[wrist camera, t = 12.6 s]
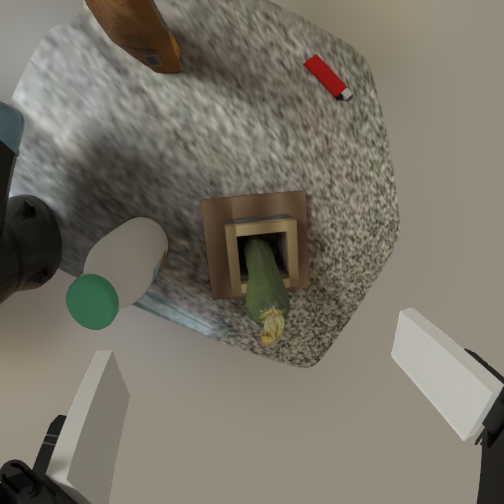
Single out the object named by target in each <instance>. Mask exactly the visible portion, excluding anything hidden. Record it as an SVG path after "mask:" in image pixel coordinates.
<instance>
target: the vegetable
mask: <svg viewBox="0 0 504 504" xmlns="http://www.w3.org/2000/svg"><path fill="white" fill-rule="evenodd" d="M244 255H245V260H246V265H247V268H248V274H249V280H248V284H247V291H246V305H247V309H248V312H249V315H250V317H251V319H252V320H253V321H254V322H256V323H257V324H258V325H260V326H262V327H264V330H265V334H266V336H265V335H264V334H262V333H259V336H261V338H262V341H260V342H262V343H263V344H264V345H265V346H266V347H267V346H269V345H270V344H274V343H275V342H277V341H280V340H281V339H280V337H281V335H282V332H283V330H284V325H285V324H284V320H285V318H286V316H287V315H288V313H289V309H290V306H289V296H288V292H287V290H286V287H285V284H284V282H283V280H282V278H281V276H280V273H279V270H278V268H277V265H276V262H275V258H274V255H273V252H272V250H271V249H270V247H269V245H268V244H267V242H266V241H264V240H262V239H260V238H259V237H257V236H255V235H250V237H249V238H248V241H247V242H246V243H245V247H244Z"/></svg>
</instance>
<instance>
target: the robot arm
mask: <svg viewBox="0 0 504 504" xmlns="http://www.w3.org/2000/svg"><path fill="white" fill-rule="evenodd" d="M24 125H25V121H24V117H23V115H22V113H21V112H20V111H19V110H17V109H15V108H13V107H12V106H9V105H7V104H5V103H3V102H0V304H1V303H3V302H4V301H5V300H6V299H7V298H8V297H10V296H11V295H12V294H13V293H15V292H19V291H25V290H32V289H35V288H38V287H40V286H42V285H43V284H44V283H46V282H47V281H48V280H49V279H51V277H52V276H53V275H54V274H55V272H56V270H57V268H58V266H59V262H60V258H61V238H60V233H59V229H58V226H57V223H56V221H55V219H54V217H53V215H52V213H51V211H50V210H49V209H48V207H47V206H46V205H45V204H44V203H43V202H42V201H40V200H39V199H37V198H36V197H33V196H31V195H18V196H14V197H10V198H8V197H9V191H10V186H11V181H12V176H13V172H14V168H15V163H16V159H17V156H19V146H20V142H21V138H22V134H23V130H24ZM391 357H392V358H393V359H394V360H395V361H396V362H397V364H398V365H399V366H400V367H401V368H402V369H403V370H404V372H405V373H406V374H407V375H408V376H409V377H410V378H411V380H412V381H413V382H414V383H415V384H416V385H417V386H418V388H419V389H420V390H421V391H422V392H423V393H424V394H425V396H426V397H427V398H428V399H429V400H430V402H431V403H432V404H433V405H434V406H435V408H436V409H437V410H438V411H439V412H440V413H441V415H442V416H443V417H444V418H445V419H446V421H447V422H448V423H449V424H450V425H451V427H452V428H453V429H454V430H455V431H456V433H457V434H458V435H459V436H460V438H461V439H462V440H463V441H465V440H466V439H468V438H469V437H471V436H472V435H474V434H475V433H476V432H477V430H478V429H479V427H480V426H481V424H483V425H484V426H485V428H484V429H483V431H482V433H481V434H480V435H479V437H478V438H477V440H476V442H475V445H477V444H478V443H479V441H480V439H481V438H482V442H481V444H480V445H482V460H481V473H480V482H479V491H478V498H477V504H504V377H503V376H501V375H500V374H499V373H498V372H497V371H496V370H494V369H493V368H492V367H491V366H489V365H488V364H487V363H486V362H485V361H483V360H482V358H480V357H479V356H478V355H477V354H476V353H474V352H472V351H470V350H467V349H463V348H461V347H460V346H459V345H458V344H457V343H455V342H454V341H453V340H452V339H450V338H449V337H448V336H447V335H446V334H444V333H443V332H442V331H441V330H439V329H438V328H437V327H436V326H434V325H433V324H432V323H431V322H430V321H428V320H427V319H425V317H423V316H422V315H421V314H419V313H418V312H417V311H416V310H414V309H413V308H408V309H404V310H401V311H400V314H399V319H398V325H397V330H396V335H395V340H394V345H393V349H392V353H391ZM129 399H130V394H129V392H128V389H127V387H126V385H125V382H124V380H123V378H122V375H121V372H120V370H119V368H118V365H117V362H116V359H115V357H114V354H113V351H112V350H99V351H98V350H97V351H96V353H95V355H94V357H93V360H92V362H91V364H90V366H89V368H88V370H87V372H86V374H85V376H84V379H83V381H82V383H81V385H80V388H79V390H78V392H77V394H76V396H75V399H74V401H73V403H72V406H71V408H70V410H69V413H68V415H67V416H64V415H58V416H57V417H56V418H55V419H54V421H53V422H52V423H51V424H50V426H49V429H48V431H47V433H46V434H47V436H45V438H44V441H43V444H42V446H41V448H40V451H39V453H38V456H37V458H36V461H35V464H34V467H33V469H32V470H31V469H30V468H29V467H28V466H27V465H26V464H25V463H24V462H22V461H21V460H16V459H15V460H10V461H8V462H6V463H5V464H4V465H3V466H2V468H1V469H0V481H1V483H0V504H109V498H110V491H111V485H112V479H113V473H114V468H115V463H116V457H117V452H118V447H119V442H120V438H121V433H122V428H123V424H124V420H125V415H126V411H127V407H128V403H129Z"/></svg>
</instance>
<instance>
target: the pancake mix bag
mask: <svg viewBox="0 0 504 504" xmlns="http://www.w3.org/2000/svg"><path fill="white" fill-rule="evenodd" d="M85 2H86V4H87V6H88V7H89V9H90V10H91V12H92V13H93V15H94V16H95V18H96V20H97V21H98V23H99V24H100V26H101V27H102V28H103V30H104V31H105V32H106V34H107V35H108V37H109V38H110V39H111V40H112V41H113V42H114V43H115V44H117V45H118V46H119V47H121V48H122V49H123V50H125V51H126V52H127V53H129V54H130V55H131V56H133V57H134V58H136V59H137V60H139V61H140V62H141V63H143V64H144V65H146V66H148V67H150V68H151V69H152V70H153V71H154V72H158V73H174V72H180V71H184V69H183V68H182V66H181V63H180V60H179V58H180V55H181V53H180V49H179V47H178V45H177V43H176V40H175V38H174V37H173V35H172V34H171V32H170V30H169V29H168V27H167V25H166V24H165V22H164V20H163V18H162V15H161V13H160V12H159V10H158V8H157V6H156V4H155V2H154V0H85Z"/></svg>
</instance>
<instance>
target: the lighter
mask: <svg viewBox="0 0 504 504" xmlns="http://www.w3.org/2000/svg"><path fill="white" fill-rule="evenodd" d="M303 65H304V66H305V67H306V68H307V69H308V70H309V71H310V72H311V73H312V74H313V75H314V76H315V77H316V78H317V79H318V80H319V81H320V82H321V83H322V85H323V86H324V87H325V88H326V89H327V90H328V91H329V92H330V93H331V94H332V96H333V97H334V98H336V100H338V99H339V98H341V97H342V96H343V97H342V99H343V100H347V99H348V98H349V97H350V96H351V95H352V94H353V93H352V92H351V91H350V90H349V89H348V88H347V86H346V85H345V84H344V83H343V82H342V81H341V80H340V79H339V78H338V76H337V75H336V74H335V73H334V72H333V71H332V70H331V69H330V68H329V67H328V66H327V65H326V64H325V63H324V62H323V61H322V60H321V59H320V58H319V56H318V55H317V54H316V55H314V56H313V57H311V58H310V59H309V60H307V61H306V62H305V63H304V64H303Z"/></svg>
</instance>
